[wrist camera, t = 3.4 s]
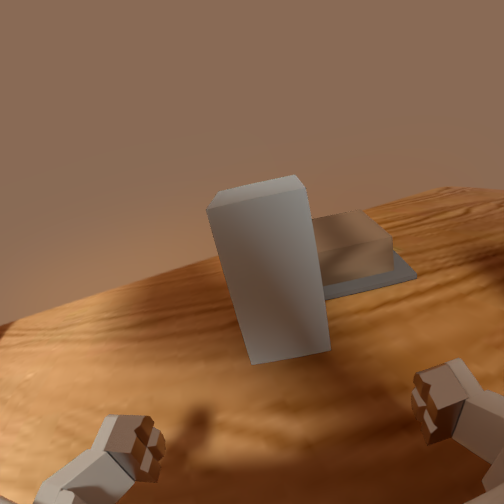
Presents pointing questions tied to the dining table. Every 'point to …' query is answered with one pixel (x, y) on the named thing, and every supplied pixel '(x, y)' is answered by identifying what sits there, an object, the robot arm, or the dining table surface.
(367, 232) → the base slab
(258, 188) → the pillar
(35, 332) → the dining table surface
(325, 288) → the build pad
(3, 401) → the dining table surface
